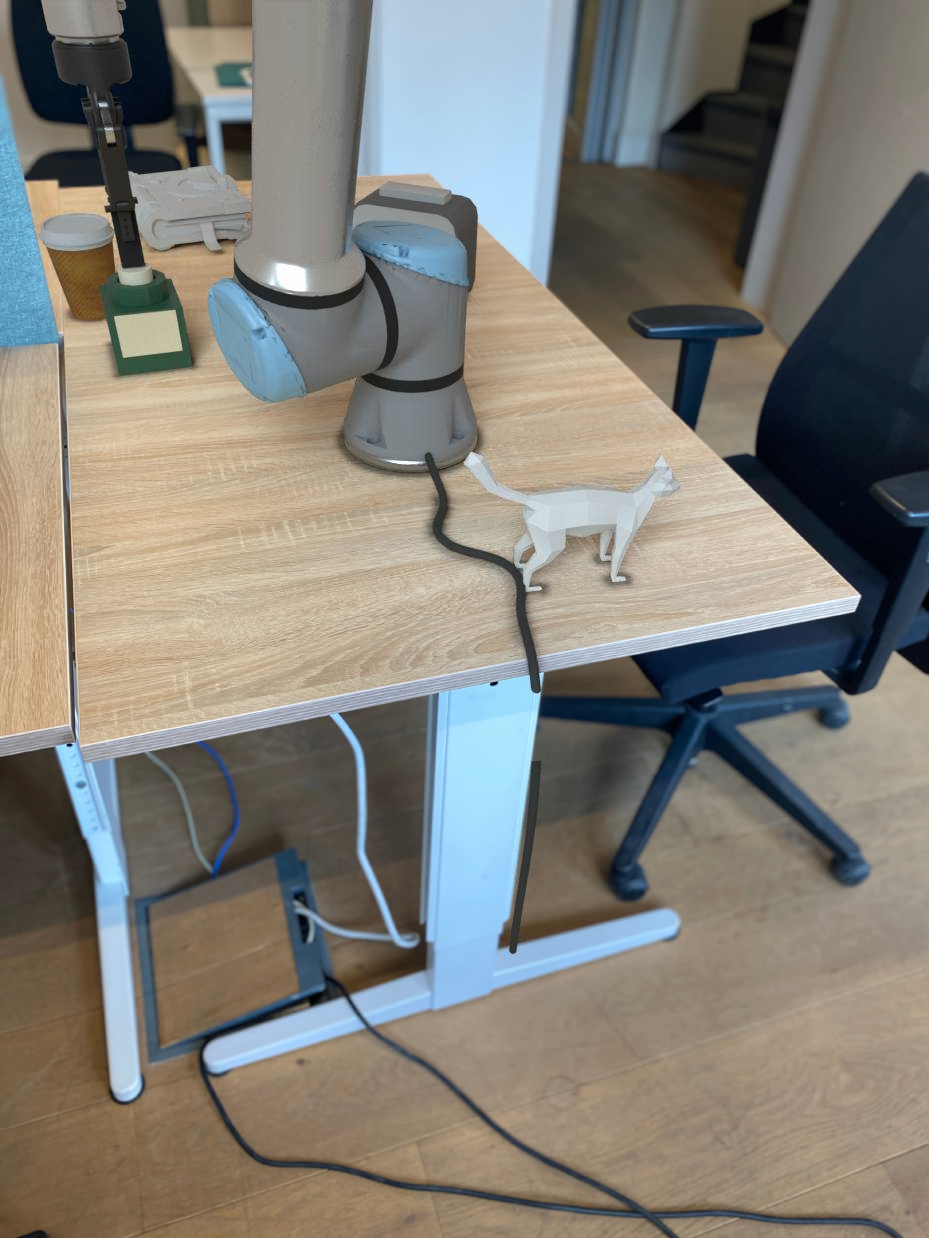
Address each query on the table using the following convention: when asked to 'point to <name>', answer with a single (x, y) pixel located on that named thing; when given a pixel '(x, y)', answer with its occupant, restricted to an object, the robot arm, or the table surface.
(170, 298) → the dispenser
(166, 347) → the bottle label
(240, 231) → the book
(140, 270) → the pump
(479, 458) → the cat figurine
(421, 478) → the table surface
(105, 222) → the disposable coffee cup
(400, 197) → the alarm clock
